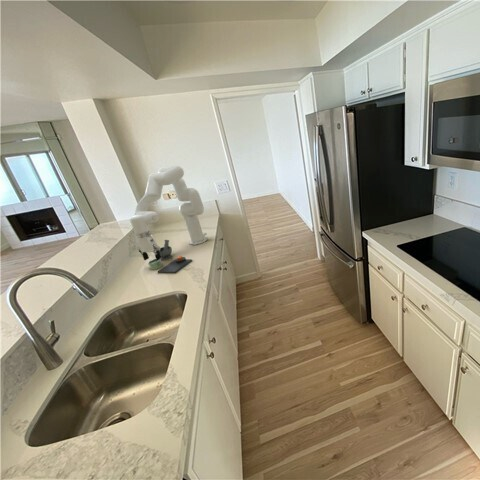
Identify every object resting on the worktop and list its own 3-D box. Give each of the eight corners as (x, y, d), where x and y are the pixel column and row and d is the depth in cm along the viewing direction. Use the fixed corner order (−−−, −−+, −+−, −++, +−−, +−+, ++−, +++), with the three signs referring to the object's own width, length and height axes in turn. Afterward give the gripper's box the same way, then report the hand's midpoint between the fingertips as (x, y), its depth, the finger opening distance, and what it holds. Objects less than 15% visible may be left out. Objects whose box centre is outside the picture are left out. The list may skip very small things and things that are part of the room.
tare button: (180, 258, 176) (179, 256, 175) (183, 258, 175) (182, 255, 175) (176, 260, 173) (176, 258, 173) (180, 260, 173) (179, 258, 172)
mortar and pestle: (166, 261, 180) (160, 245, 175) (155, 261, 183) (149, 245, 178) (178, 254, 190) (173, 238, 185) (168, 253, 193) (162, 238, 188)
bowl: (156, 264, 177) (153, 258, 175) (165, 265, 175) (162, 258, 173) (148, 270, 171) (145, 263, 169) (157, 270, 169) (154, 263, 167)
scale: (176, 260, 180) (175, 256, 178) (192, 260, 176) (191, 256, 175) (158, 273, 165) (156, 269, 164) (175, 273, 162) (173, 269, 161)
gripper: (159, 232, 165) (168, 256, 171) (137, 232, 169) (146, 256, 176) (149, 236, 158) (159, 262, 165) (127, 237, 162) (137, 261, 169)
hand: (152, 259), depth 170 cm, fingers open, 9 cm apart
